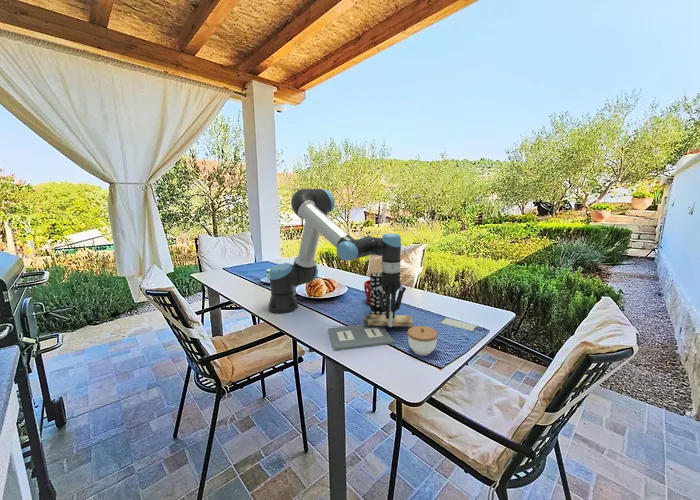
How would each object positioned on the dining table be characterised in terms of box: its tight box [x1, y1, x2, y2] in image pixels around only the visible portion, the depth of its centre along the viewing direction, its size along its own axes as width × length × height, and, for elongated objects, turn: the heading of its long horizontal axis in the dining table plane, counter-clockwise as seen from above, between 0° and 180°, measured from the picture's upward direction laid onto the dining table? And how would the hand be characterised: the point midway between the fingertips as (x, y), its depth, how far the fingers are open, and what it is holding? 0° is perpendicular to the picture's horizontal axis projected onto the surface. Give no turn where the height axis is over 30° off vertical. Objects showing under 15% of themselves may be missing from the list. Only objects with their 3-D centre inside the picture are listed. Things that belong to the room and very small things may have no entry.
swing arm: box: [362, 313, 414, 328], centre depth 130 cm, size 22×7×3 cm, turn 83°
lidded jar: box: [407, 325, 438, 357], centre depth 109 cm, size 11×11×9 cm
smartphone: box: [439, 317, 479, 332], centre depth 132 cm, size 7×1×15 cm
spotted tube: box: [369, 272, 386, 315], centre depth 145 cm, size 8×8×20 cm
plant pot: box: [363, 279, 371, 306], centre depth 161 cm, size 13×13×12 cm
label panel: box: [328, 323, 395, 351], centre depth 123 cm, size 18×24×2 cm
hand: (389, 325), depth 125 cm, fingers closed
